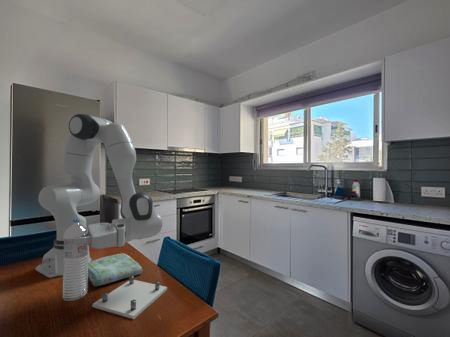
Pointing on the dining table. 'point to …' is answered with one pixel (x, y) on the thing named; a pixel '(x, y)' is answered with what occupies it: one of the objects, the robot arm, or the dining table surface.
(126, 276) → the towel
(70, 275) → the water bottle
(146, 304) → the bottle stand
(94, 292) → the dining table surface
